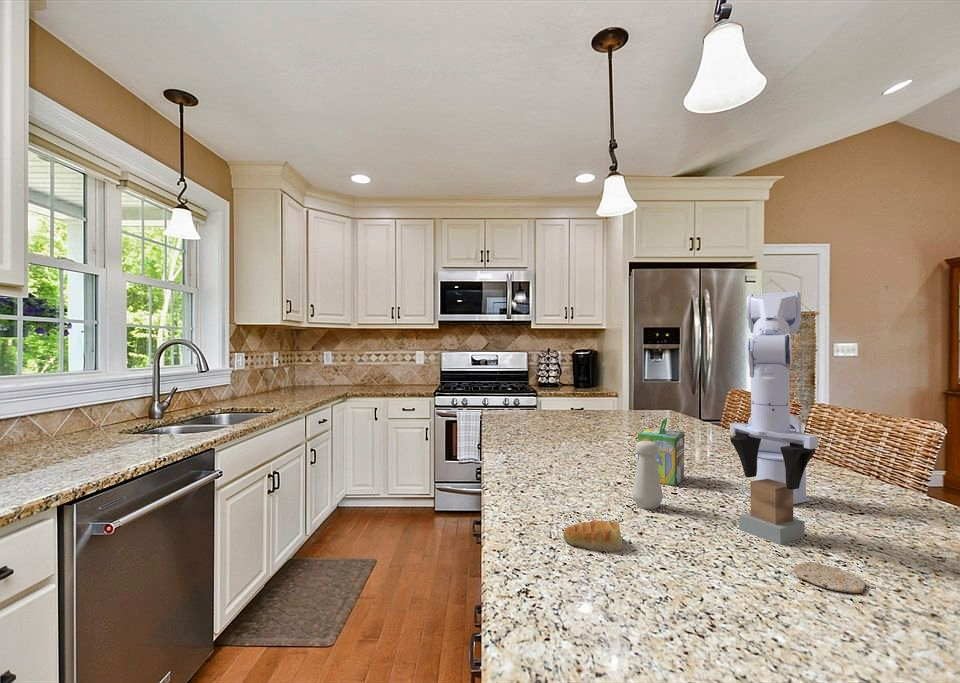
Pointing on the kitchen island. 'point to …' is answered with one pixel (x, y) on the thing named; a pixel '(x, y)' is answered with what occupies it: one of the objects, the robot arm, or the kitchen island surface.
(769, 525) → the base slab
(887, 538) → the kitchen island surface
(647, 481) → the salt shaker
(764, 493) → the walnut block
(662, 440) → the chalk box
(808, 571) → the flatbread
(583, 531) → the pastry
